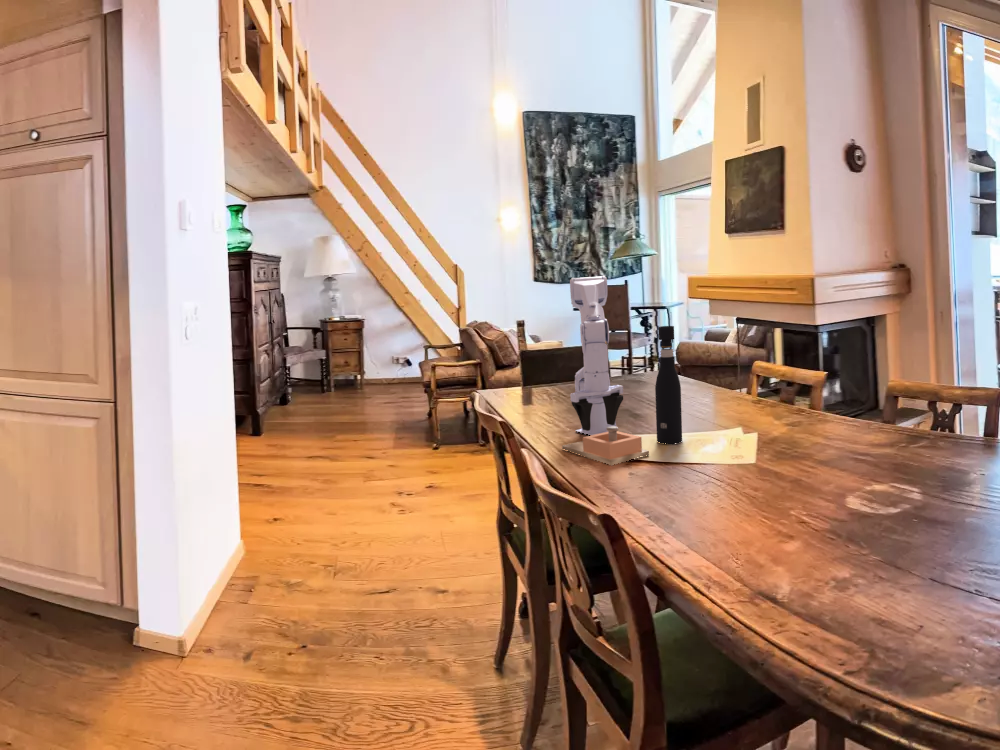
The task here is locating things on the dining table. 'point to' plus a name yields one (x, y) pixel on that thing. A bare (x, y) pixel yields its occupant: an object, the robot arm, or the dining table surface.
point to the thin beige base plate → (578, 449)
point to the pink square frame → (612, 445)
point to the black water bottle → (668, 392)
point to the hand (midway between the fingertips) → (598, 427)
